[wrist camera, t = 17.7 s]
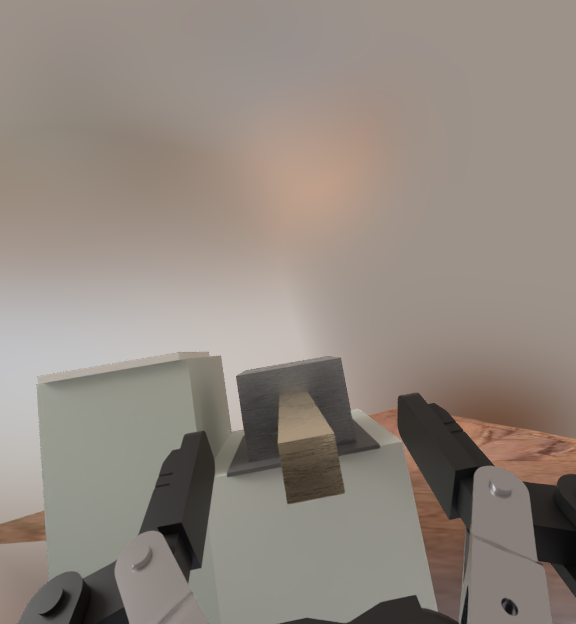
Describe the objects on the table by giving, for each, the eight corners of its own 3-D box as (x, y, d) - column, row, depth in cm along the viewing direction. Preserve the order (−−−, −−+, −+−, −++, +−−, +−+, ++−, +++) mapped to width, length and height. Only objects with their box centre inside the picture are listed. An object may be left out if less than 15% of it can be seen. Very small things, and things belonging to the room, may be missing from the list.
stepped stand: (151, 633, 33) (124, 367, 37) (392, 582, 35) (343, 329, 38) (58, 836, 19) (31, 376, 23) (467, 738, 21) (378, 318, 24)
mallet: (256, 437, 31) (245, 370, 32) (339, 421, 31) (327, 356, 32) (214, 583, 12) (191, 401, 12) (435, 537, 12) (398, 364, 13)
